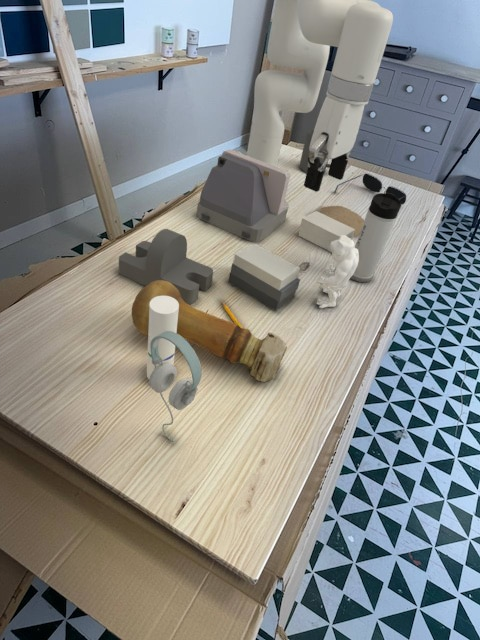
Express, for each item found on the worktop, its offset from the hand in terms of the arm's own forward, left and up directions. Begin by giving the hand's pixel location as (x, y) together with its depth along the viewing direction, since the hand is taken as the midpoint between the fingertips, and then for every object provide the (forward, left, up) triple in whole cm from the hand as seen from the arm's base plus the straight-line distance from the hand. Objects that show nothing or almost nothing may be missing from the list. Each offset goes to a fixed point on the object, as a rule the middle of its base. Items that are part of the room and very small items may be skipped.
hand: (323, 182), depth 92 cm
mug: (-31, +61, -23) cm, 72 cm away
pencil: (+3, -24, -24) cm, 34 cm away
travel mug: (+9, +14, -23) cm, 29 cm away
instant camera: (-26, +12, -23) cm, 37 cm away
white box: (-3, -10, -18) cm, 21 cm away
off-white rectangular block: (-5, +21, -23) cm, 32 cm away
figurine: (+9, -1, -23) cm, 25 cm away
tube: (0, -43, -23) cm, 49 cm away
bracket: (-19, -23, -23) cm, 38 cm away
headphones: (+10, -51, -23) cm, 57 cm away
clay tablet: (-8, +34, -23) cm, 42 cm away
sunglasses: (-9, +56, -23) cm, 61 cm away
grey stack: (-3, -10, -23) cm, 25 cm away
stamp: (+1, -33, -23) cm, 40 cm away
